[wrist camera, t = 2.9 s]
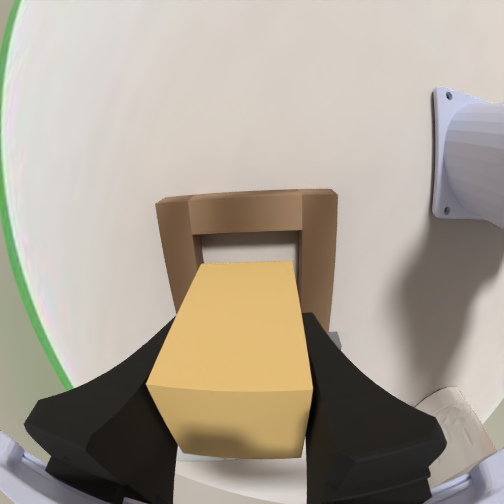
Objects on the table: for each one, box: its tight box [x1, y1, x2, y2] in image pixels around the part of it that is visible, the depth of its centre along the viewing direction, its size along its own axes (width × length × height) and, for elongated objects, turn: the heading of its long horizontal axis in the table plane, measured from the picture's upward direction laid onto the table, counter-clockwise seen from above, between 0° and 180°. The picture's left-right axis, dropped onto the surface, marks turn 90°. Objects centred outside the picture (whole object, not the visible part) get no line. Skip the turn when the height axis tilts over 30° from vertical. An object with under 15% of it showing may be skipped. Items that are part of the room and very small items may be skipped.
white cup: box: [415, 387, 497, 489], centre depth 17 cm, size 8×8×10 cm
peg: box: [146, 261, 313, 459], centre depth 10 cm, size 4×4×7 cm
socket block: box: [155, 189, 338, 334], centre depth 16 cm, size 9×9×2 cm
